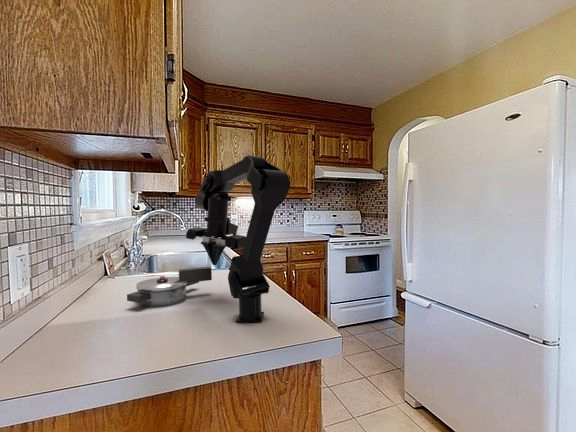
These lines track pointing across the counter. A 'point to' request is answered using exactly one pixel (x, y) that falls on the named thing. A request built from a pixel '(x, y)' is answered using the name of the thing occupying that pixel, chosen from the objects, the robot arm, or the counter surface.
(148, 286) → the lid
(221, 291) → the counter surface
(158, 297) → the grey round flat pan
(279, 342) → the counter surface
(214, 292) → the counter surface
